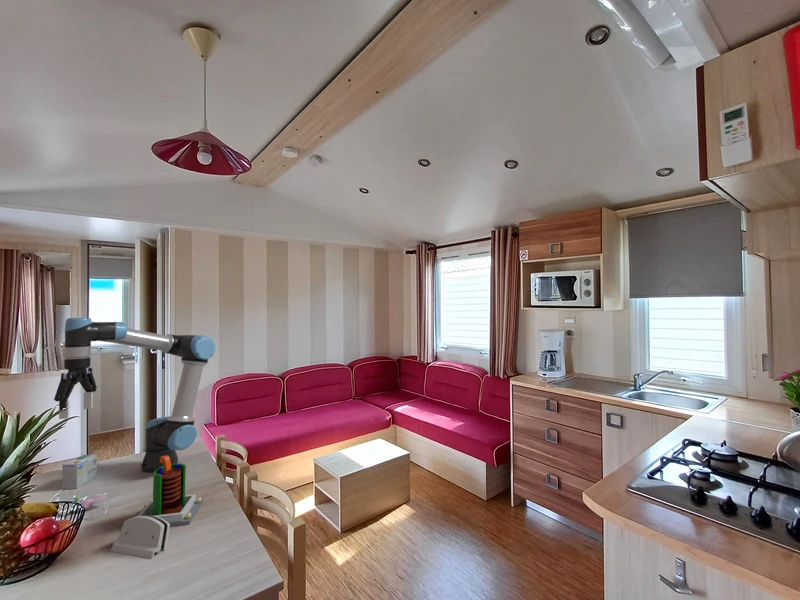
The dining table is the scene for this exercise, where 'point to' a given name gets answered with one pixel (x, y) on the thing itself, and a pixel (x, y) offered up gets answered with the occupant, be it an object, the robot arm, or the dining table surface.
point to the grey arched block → (142, 536)
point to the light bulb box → (79, 471)
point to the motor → (168, 487)
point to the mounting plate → (177, 518)
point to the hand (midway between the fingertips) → (76, 413)
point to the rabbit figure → (89, 501)
